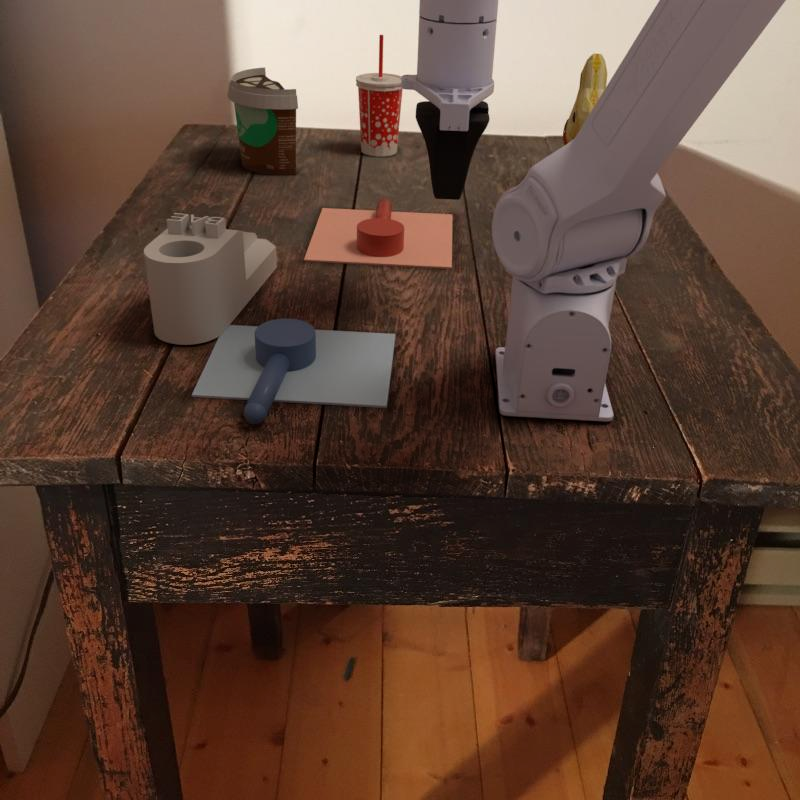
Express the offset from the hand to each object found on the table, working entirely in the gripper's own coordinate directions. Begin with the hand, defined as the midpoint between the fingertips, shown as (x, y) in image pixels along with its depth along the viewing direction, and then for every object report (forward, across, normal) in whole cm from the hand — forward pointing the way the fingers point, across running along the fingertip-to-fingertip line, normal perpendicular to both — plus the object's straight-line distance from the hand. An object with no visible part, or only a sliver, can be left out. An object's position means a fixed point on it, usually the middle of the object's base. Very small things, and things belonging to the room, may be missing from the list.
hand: (447, 196), depth 74 cm
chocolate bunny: (+10, -33, +17) cm, 38 cm away
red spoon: (+10, -16, -6) cm, 19 cm away
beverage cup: (+10, -44, -8) cm, 46 cm away
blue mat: (+10, +11, -11) cm, 18 cm away
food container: (+10, -36, -22) cm, 44 cm away
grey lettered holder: (+10, +1, -19) cm, 22 cm away
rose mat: (+10, -15, -6) cm, 19 cm away
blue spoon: (+10, +14, -12) cm, 21 cm away
